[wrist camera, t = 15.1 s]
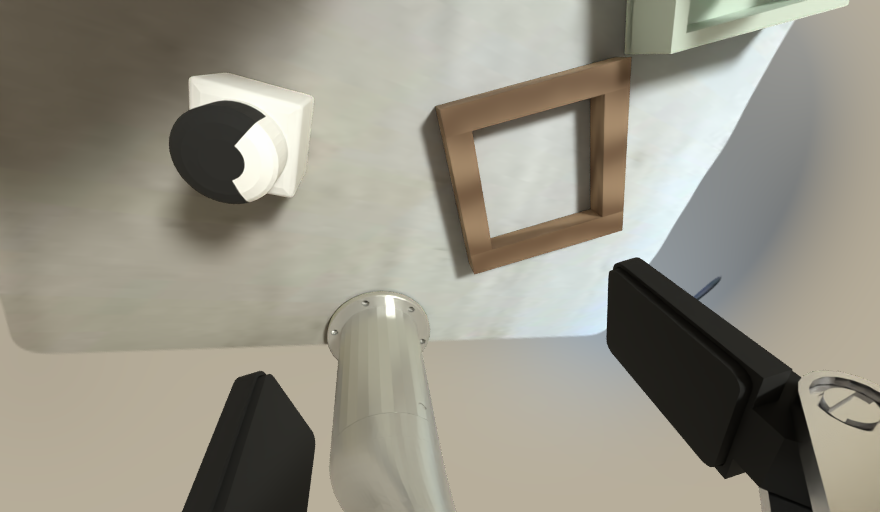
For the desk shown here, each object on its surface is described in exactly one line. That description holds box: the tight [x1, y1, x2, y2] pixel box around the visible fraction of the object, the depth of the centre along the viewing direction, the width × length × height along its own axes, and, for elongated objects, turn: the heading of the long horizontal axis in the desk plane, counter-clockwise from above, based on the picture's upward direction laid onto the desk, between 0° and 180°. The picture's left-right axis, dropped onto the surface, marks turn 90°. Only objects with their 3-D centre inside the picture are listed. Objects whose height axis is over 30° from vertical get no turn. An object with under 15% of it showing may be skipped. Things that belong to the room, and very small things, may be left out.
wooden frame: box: [435, 57, 631, 274], centre depth 37 cm, size 18×18×2 cm
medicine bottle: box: [169, 73, 314, 204], centre depth 26 cm, size 7×7×12 cm
